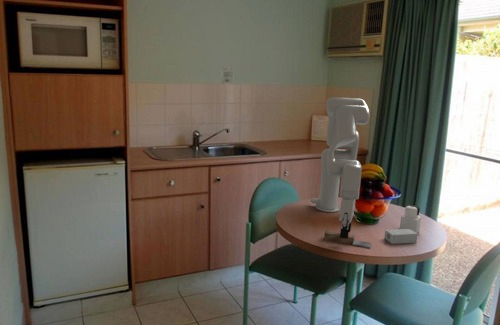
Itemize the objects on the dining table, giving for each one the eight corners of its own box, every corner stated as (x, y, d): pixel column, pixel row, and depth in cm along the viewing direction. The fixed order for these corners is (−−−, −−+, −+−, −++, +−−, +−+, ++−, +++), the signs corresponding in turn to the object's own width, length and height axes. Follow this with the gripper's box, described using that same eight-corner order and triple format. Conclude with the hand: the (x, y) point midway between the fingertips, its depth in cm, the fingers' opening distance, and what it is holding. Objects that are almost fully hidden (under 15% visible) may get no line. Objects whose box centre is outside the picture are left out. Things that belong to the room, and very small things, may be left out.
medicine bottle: (403, 227, 199) (406, 202, 197) (419, 231, 195) (423, 206, 193) (399, 231, 194) (402, 206, 191) (415, 235, 190) (418, 209, 187)
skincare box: (391, 244, 178) (416, 243, 180) (392, 234, 177) (418, 233, 180) (383, 238, 184) (408, 237, 186) (385, 229, 183) (409, 228, 185)
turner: (323, 240, 178) (324, 233, 178) (325, 236, 183) (326, 230, 182) (370, 248, 172) (371, 241, 171) (371, 244, 177) (371, 237, 176)
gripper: (343, 187, 183) (339, 226, 186) (337, 197, 167) (332, 240, 170) (360, 189, 180) (356, 229, 184) (356, 200, 164) (352, 243, 168)
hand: (345, 234), depth 177 cm, fingers open, 7 cm apart
